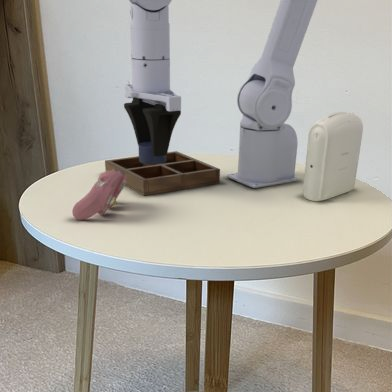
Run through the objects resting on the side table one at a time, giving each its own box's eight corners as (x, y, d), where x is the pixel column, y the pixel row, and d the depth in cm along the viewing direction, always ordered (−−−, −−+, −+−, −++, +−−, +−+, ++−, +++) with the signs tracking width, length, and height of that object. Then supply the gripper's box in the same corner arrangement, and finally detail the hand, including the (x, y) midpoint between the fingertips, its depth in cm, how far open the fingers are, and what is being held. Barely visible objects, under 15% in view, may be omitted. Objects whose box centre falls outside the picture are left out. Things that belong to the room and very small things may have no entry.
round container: (158, 156, 99) (157, 140, 98) (171, 162, 96) (171, 145, 95) (134, 159, 97) (133, 143, 96) (147, 165, 94) (146, 148, 93)
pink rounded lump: (97, 233, 84) (115, 190, 80) (68, 216, 84) (85, 173, 80) (118, 211, 92) (136, 171, 89) (92, 196, 92) (109, 156, 88)
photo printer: (319, 203, 92) (330, 119, 86) (297, 197, 95) (306, 114, 88) (357, 191, 98) (370, 111, 92) (336, 185, 101) (346, 107, 94)
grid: (176, 164, 111) (176, 151, 110) (219, 183, 101) (220, 168, 100) (105, 174, 105) (104, 160, 104) (144, 195, 94) (143, 180, 93)
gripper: (105, 54, 92) (110, 145, 99) (150, 64, 82) (152, 165, 89) (145, 53, 96) (148, 141, 103) (193, 62, 85) (192, 159, 92)
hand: (152, 152), depth 96 cm, fingers closed on round container, 4 cm apart
